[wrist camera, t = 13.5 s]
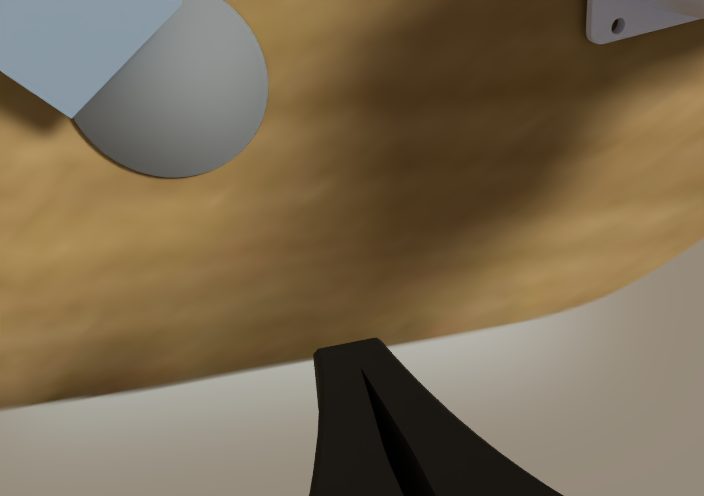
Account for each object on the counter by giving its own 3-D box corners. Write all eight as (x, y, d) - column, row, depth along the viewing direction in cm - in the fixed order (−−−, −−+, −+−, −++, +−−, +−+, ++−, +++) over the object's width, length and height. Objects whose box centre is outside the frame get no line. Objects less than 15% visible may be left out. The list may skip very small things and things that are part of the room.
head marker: (305, 86, 19) (307, 88, 18) (178, 208, 20) (178, 211, 19) (157, -75, 15) (157, -75, 15) (14, 81, 16) (13, 82, 16)
